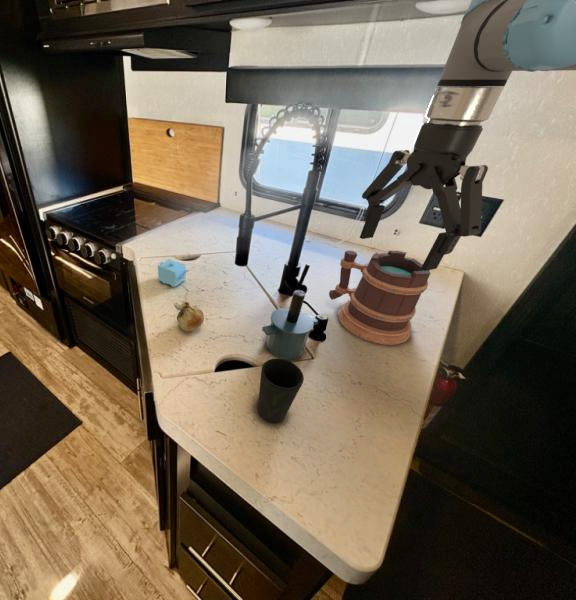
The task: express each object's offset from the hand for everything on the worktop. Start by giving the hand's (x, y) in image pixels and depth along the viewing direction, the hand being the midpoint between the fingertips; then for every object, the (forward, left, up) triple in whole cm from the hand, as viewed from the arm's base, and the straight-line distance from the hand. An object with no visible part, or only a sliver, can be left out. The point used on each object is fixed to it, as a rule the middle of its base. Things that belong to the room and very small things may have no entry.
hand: (394, 251), depth 58 cm
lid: (+10, +10, -22) cm, 26 cm away
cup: (-6, +24, -31) cm, 40 cm away
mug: (+13, -19, -31) cm, 38 cm away
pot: (+10, +10, -31) cm, 34 cm away
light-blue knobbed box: (+49, +28, -31) cm, 64 cm away
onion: (+25, +31, -31) cm, 50 cm away
